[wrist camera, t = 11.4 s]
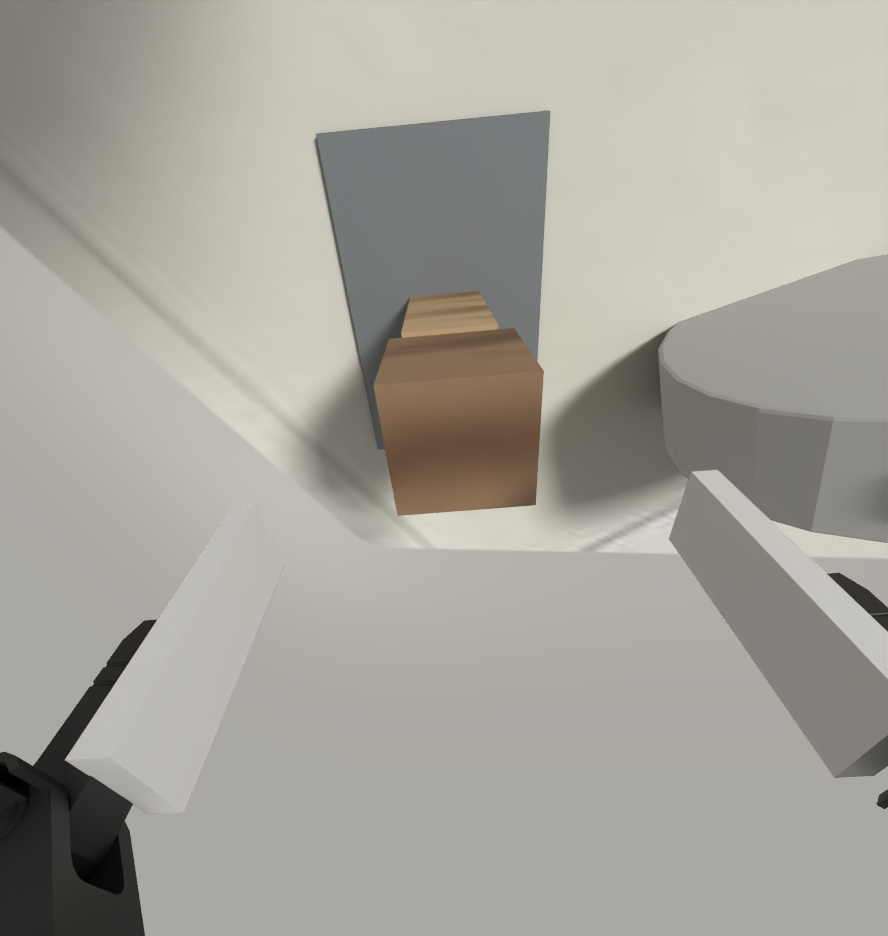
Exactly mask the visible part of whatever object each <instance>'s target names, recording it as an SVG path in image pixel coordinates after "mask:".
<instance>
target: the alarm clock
mask: <svg viewBox="0 0 888 936" xmlns="http://www.w3.org/2000/svg"><path fill="white" fill-rule="evenodd" d="M658 359H659V374H660V389H661V404H662V418H663V432H664V442H665V450H666V452H667V454H668V455H669V457H670V458H671V460H672V461H673V463H674V464H675V466H676V467H677V469H678V470H679V472H680V473H682V474H683V475H684V476H685V477H687V478H688V479H689V477H690V474H691V472H694V471H708V470H718V471H719V472H720V473H722V474H723V475H724V476H725V477H726V478H727V479H728V480H729V481H730V482H731V483H732V484H733V485H734V486H735V487H736V488H737V489H738V490H739V491H740V492H741V493H742V494H744V495H745V496H746V497H747V498H748V499H749V500H750V501H751V502H752V503H753V504H754V505H755V506H756V507H757V508H758V509H759V510H760V511H761V512H762V513H763V514H765V515H766V516H767V517H768V518H769V519H770V520H772V521H776V522H779V523H783V524H786V525H790V526H793V527H797V528H800V529H803V530H807V531H810V532H817V533H823V534H830V535H837V536H844V537H851V538H858V539H865V540H871V541H878V542H885V543H888V255H882V256H876V257H870V258H864V259H858V260H855V261H852V262H849V263H846V264H843V265H840V266H837V267H835V268H832V269H829V270H826V271H823V272H820V273H818V274H815V275H812V276H809V277H806V278H803V279H800V280H798V281H795V282H792V283H789V284H786V285H783V286H780V287H778V288H775V289H772V290H769V291H766V292H763V293H761V294H758V295H755V296H752V297H749V298H746V299H743V300H741V301H738V302H735V303H732V304H729V305H726V306H723V307H721V308H718V309H715V310H712V311H709V312H706V313H703V314H701V315H698V316H695V317H692V318H689V319H686V320H684V321H681V322H679V323H677V324H676V325H675V326H674V327H673V328H671V329H670V330H669V331H668V332H667V334H666V336H665V338H664V340H663V341H662V343H661V345H660V347H659V349H658Z"/></svg>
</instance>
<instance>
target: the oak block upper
mask: <svg viewBox="0 0 888 936" xmlns="http://www.w3.org/2000/svg"><path fill="white" fill-rule="evenodd" d="M496 329H498V323H497V322H496V320H495V318H494V316H493V315H492V313H491V311H490V309H489V308H488V306H487V305H477V306H465V307H454V308H443V309H431V310H420V311H409V312H406V316H405V320H404V324H403V327H402V331H401V335H402V338H405V337H416V336H428V335H439V334H450V333H462V332H473V331H485V330H496Z"/></svg>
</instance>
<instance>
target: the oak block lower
mask: <svg viewBox="0 0 888 936" xmlns="http://www.w3.org/2000/svg"><path fill="white" fill-rule="evenodd" d="M477 305H487V304H486V302H485V301H484V299H483V297H482V295H481V293H480V292H479V291H471V292H459V293H448V294H437V295H426V296H415V297H410V300H409V304H408V308H407V312H409V311H420V310H431V309H443V308H454V307H465V306H477Z"/></svg>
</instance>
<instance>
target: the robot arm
mask: <svg viewBox="0 0 888 936" xmlns="http://www.w3.org/2000/svg"><path fill="white" fill-rule="evenodd" d="M669 540H670V541H671V542H672V544H673V545H674V547H675V548H676V550H677V551H678V553H679V554H680V555H681V557H682V558H683V560H684V561H685V563H686V564H687V566H688V567H689V568H690V570H691V571H692V573H693V574H694V575H695V577H696V579H697V580H698V581H699V583H700V584H701V586H702V587H703V589H704V590H705V592H706V593H707V594H708V596H709V597H710V599H711V600H712V601H713V603H714V604H715V606H716V607H717V609H718V610H719V612H720V613H721V615H722V616H723V618H724V619H725V620H726V622H727V623H728V625H729V626H730V628H731V629H732V631H733V632H734V633H735V635H736V636H737V638H738V639H739V641H740V642H741V643H742V645H743V646H744V648H745V649H746V651H747V652H748V654H749V655H750V656H751V658H752V659H753V661H754V662H755V664H756V665H757V667H758V668H759V669H760V671H761V672H762V674H763V675H764V677H765V678H766V680H767V681H768V683H769V684H770V685H771V687H772V688H773V690H774V691H775V693H776V694H777V695H778V697H779V698H780V700H781V701H782V703H783V704H784V706H785V707H786V708H787V710H788V711H789V713H790V714H791V716H792V717H793V719H794V720H795V722H796V723H797V724H798V726H799V727H800V729H801V730H802V731H803V733H804V735H805V736H806V737H807V739H808V740H809V742H810V743H811V745H812V746H813V747H814V749H815V750H816V752H817V753H818V755H819V756H820V758H821V759H822V760H823V762H824V763H825V765H826V766H827V768H828V769H829V771H830V772H831V774H832V775H833V776H834V777H835V778H838V777H856V776H874V775H876V774H877V773H878V772H880V771H881V770H883V769H884V768H885V767H887V766H888V607H886V606H885V605H884V604H883V603H882V602H881V601H880V600H879V599H877V598H876V597H875V596H874V595H873V594H872V593H871V592H870V591H869V590H867V589H865V588H864V587H862V586H860V585H859V584H857V583H855V582H854V581H852V580H850V579H848V578H847V577H845V576H844V575H842V574H840V573H831V574H826V573H825V572H824V571H823V570H822V569H821V568H820V567H819V566H818V565H817V564H816V563H815V562H814V561H813V560H812V559H811V558H810V557H809V556H808V555H807V554H805V553H804V552H803V551H802V550H801V549H800V548H799V547H798V546H797V545H796V544H795V543H794V542H793V541H792V540H791V539H790V538H789V537H788V536H787V535H786V534H784V533H783V532H782V531H781V530H780V529H779V528H778V527H777V526H776V525H775V524H774V523H773V522H772V521H771V520H770V519H769V518H768V517H767V516H766V515H765V514H763V513H762V512H761V511H760V510H759V509H758V508H757V507H756V506H755V505H754V504H753V503H752V502H751V501H750V500H749V499H748V498H747V497H746V496H745V495H744V494H742V493H741V492H740V491H739V490H738V489H737V488H736V487H735V486H734V485H733V484H732V483H731V482H730V481H729V480H728V479H727V478H726V477H725V476H724V475H723V474H722V473H720V472H719V471H718V470H708V471H694V472H691V474H690V477H689V480H688V483H687V486H686V489H685V492H684V495H683V498H682V501H681V504H680V507H679V510H678V513H677V516H676V519H675V522H674V525H673V528H672V531H671V534H670V537H669ZM283 568H284V564H283V561H282V559H281V557H280V555H279V552H278V550H277V548H276V546H275V543H274V541H273V539H272V537H271V535H270V533H269V530H268V528H267V526H266V523H265V521H264V519H263V517H262V515H261V512H260V510H259V508H258V505H257V504H253V505H239V506H232V508H231V509H230V511H229V512H228V513H227V515H226V517H225V518H224V520H223V521H222V523H221V524H220V526H219V527H218V529H217V530H216V532H215V533H214V535H213V536H212V538H211V539H210V541H209V542H208V544H207V545H206V547H205V548H204V550H203V551H202V553H201V554H200V556H199V557H198V559H197V560H196V562H195V564H194V565H193V566H192V568H191V570H190V571H189V573H188V574H187V576H186V577H185V579H184V581H183V582H182V583H181V585H180V586H179V588H178V589H177V591H176V592H175V594H174V595H173V597H172V598H171V600H170V601H169V603H168V604H167V606H166V607H165V609H164V611H163V612H162V614H161V615H160V616H159V618H158V620H147V621H143V622H142V623H141V624H140V625H139V626H138V627H137V628H136V629H135V630H133V631H132V632H131V633H130V634H129V635H128V636H127V637H126V638H125V639H124V640H122V642H121V643H120V645H119V646H118V648H117V649H116V651H115V652H114V653H113V655H112V656H111V657H110V659H109V660H108V662H107V666H106V667H104V668H103V669H102V670H101V672H100V673H99V675H98V676H97V677H96V679H95V680H94V681H93V682H94V684H93V686H91V687H89V689H88V690H87V691H86V693H85V695H84V696H83V697H82V699H81V700H80V701H79V703H78V704H77V705H76V707H75V708H74V710H73V711H72V713H71V714H70V716H69V717H68V718H67V720H66V721H65V722H64V724H63V725H62V727H61V728H60V730H59V731H58V732H57V734H56V735H55V737H54V738H53V739H52V741H51V742H50V744H49V745H48V746H47V748H46V750H45V751H44V752H43V754H42V755H41V756H40V758H39V759H38V761H37V762H36V763H35V764H34V766H32V765H30V764H28V763H27V762H25V761H23V760H21V759H20V758H18V757H16V756H14V755H12V754H9V753H7V752H2V753H0V936H145V933H144V927H143V919H142V913H141V906H140V899H139V892H138V885H137V879H136V871H135V865H134V858H133V852H132V844H131V837H130V831H129V829H128V827H127V824H126V822H125V819H126V817H127V815H128V813H129V811H130V809H131V807H132V805H134V806H135V807H137V808H139V809H140V810H142V811H143V812H144V813H146V814H163V813H180V812H184V810H185V807H186V805H187V802H188V800H189V798H190V795H191V793H192V790H193V788H194V785H195V783H196V780H197V778H198V776H199V773H200V771H201V768H202V766H203V763H204V761H205V758H206V756H207V754H208V751H209V749H210V746H211V744H212V741H213V739H214V736H215V734H216V732H217V729H218V727H219V724H220V722H221V719H222V717H223V714H224V712H225V709H226V707H227V705H228V702H229V700H230V697H231V695H232V693H233V690H234V688H235V685H236V683H237V680H238V678H239V675H240V673H241V670H242V668H243V666H244V663H245V661H246V658H247V656H248V653H249V651H250V649H251V646H252V644H253V641H254V639H255V636H256V634H257V632H258V629H259V626H260V624H261V622H262V619H263V617H264V614H265V612H266V610H267V607H268V605H269V602H270V600H271V597H272V595H273V592H274V590H275V587H276V585H277V582H278V580H279V578H280V575H281V573H282V571H283ZM877 805H878V806H880V807H882V808H883V809H886V808H887V807H888V790H886V791H885V792H883V793H882V794H880V795H879V798H878V802H877Z"/></svg>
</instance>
